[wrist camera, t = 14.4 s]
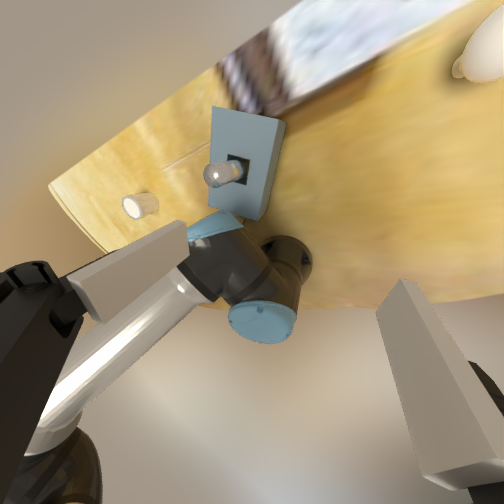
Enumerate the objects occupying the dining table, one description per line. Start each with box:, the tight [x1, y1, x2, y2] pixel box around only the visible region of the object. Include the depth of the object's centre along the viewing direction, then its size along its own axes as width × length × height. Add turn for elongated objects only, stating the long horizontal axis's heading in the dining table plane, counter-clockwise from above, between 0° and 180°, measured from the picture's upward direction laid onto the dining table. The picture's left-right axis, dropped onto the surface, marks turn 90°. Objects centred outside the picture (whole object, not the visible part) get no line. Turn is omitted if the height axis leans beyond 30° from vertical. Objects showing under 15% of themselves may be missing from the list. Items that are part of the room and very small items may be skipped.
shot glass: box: [122, 193, 159, 220], centre depth 53 cm, size 7×7×7 cm
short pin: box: [233, 214, 244, 224], centre depth 46 cm, size 4×4×6 cm
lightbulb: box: [451, 4, 504, 83], centre depth 20 cm, size 6×6×11 cm
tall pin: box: [204, 158, 250, 188], centre depth 34 cm, size 4×4×16 cm
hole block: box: [208, 106, 287, 221], centre depth 38 cm, size 18×12×7 cm, turn 169°
